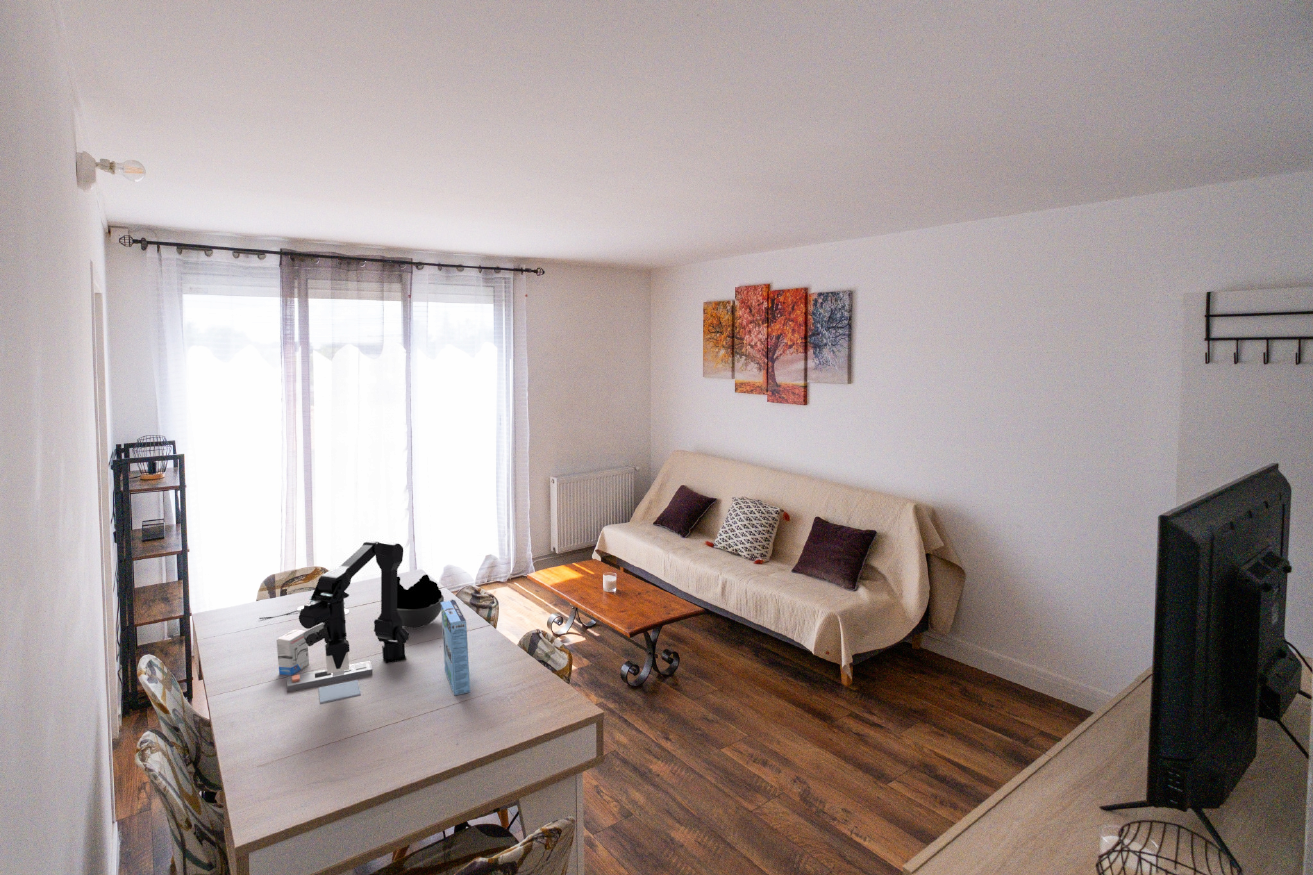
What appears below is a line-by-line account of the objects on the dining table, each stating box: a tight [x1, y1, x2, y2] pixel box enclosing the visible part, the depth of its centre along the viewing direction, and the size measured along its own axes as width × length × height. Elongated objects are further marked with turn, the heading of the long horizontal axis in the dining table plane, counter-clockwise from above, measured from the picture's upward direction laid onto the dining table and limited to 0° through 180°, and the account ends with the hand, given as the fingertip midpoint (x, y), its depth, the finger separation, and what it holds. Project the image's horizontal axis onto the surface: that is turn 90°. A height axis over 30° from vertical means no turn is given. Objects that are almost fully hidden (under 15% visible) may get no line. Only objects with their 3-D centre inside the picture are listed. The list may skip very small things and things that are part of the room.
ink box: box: [276, 629, 310, 676], centre depth 228 cm, size 9×5×12 cm, turn 168°
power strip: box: [286, 660, 373, 693], centre depth 222 cm, size 24×7×3 cm, turn 117°
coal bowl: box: [397, 574, 445, 629], centre depth 262 cm, size 20×20×19 cm
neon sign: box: [258, 593, 350, 620], centre depth 275 cm, size 21×4×29 cm
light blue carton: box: [440, 599, 471, 696], centre depth 218 cm, size 20×5×23 cm, turn 25°
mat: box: [318, 679, 361, 705], centre depth 213 cm, size 11×10×1 cm
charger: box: [324, 647, 350, 677], centre depth 212 cm, size 6×4×10 cm
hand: (337, 665), depth 212 cm, fingers closed on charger, 4 cm apart
